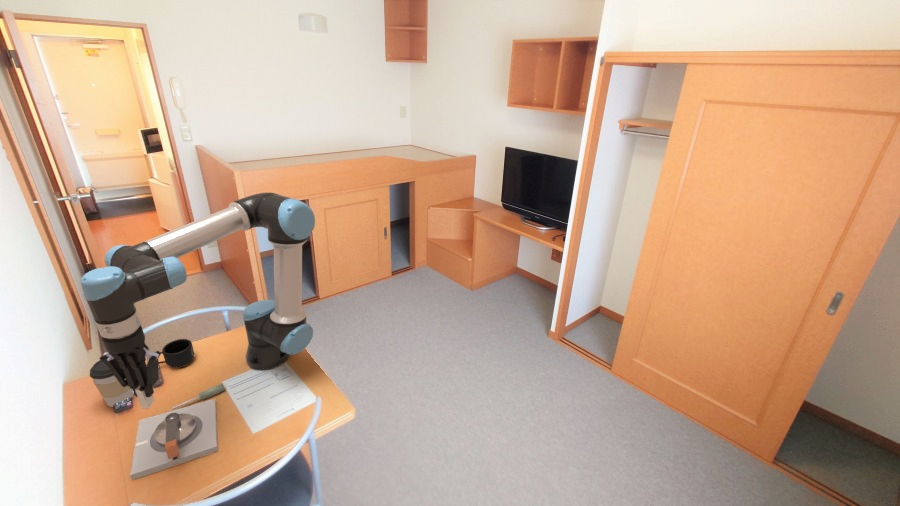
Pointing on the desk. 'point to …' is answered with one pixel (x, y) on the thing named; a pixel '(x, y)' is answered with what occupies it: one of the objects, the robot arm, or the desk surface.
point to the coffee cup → (109, 384)
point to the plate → (199, 444)
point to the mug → (178, 353)
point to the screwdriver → (204, 394)
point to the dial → (174, 432)
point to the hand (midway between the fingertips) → (148, 404)
